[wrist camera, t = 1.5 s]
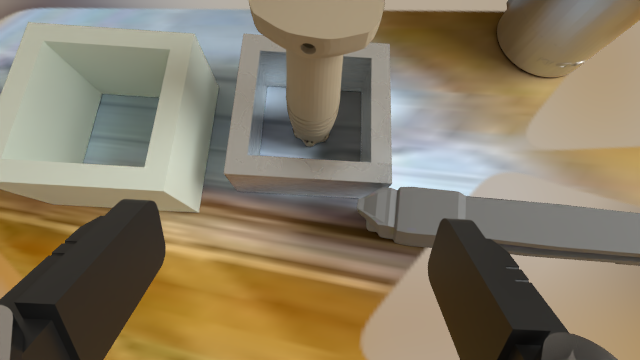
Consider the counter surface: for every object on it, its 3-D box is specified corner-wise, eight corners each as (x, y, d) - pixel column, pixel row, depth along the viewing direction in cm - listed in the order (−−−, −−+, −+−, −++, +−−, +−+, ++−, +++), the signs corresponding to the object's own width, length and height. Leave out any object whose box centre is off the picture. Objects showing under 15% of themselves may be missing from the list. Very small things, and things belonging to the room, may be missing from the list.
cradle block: (89, 78, 30) (28, 22, 24) (219, 87, 31) (194, 33, 24) (52, 204, 27) (-32, 179, 20) (198, 212, 27) (163, 191, 20)
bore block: (253, 71, 31) (243, 33, 26) (377, 79, 31) (389, 43, 27) (237, 191, 28) (223, 173, 23) (377, 199, 28) (391, 183, 23)
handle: (342, 162, 29) (378, 48, 15) (271, 150, 29) (238, 24, 15) (350, 114, 30) (389, -33, 16) (282, 102, 30) (261, -54, 16)
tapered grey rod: (388, 224, 36) (357, 181, 23) (684, 249, 27) (915, 202, 14) (385, 253, 35) (351, 225, 22) (692, 289, 26) (946, 279, 13)
